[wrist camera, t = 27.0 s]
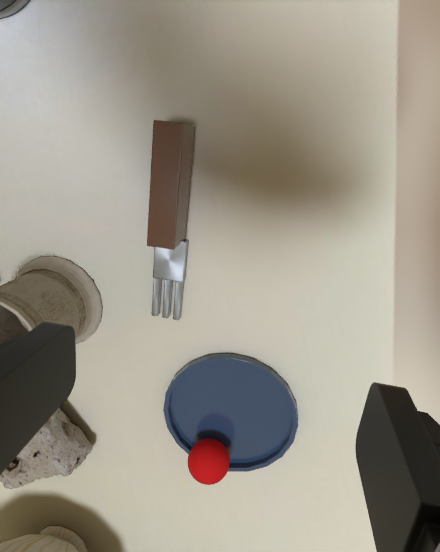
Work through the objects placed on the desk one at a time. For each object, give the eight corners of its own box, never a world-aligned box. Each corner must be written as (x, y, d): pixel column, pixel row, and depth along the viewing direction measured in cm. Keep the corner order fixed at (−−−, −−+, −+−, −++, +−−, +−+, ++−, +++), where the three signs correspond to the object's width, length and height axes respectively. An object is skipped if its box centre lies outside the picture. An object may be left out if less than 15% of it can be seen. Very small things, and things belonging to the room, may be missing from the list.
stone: (-3, 494, 47) (-49, 432, 44) (31, 455, 52) (-8, 396, 49) (80, 501, 42) (35, 431, 38) (109, 456, 47) (71, 390, 43)
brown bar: (164, 122, 34) (149, 119, 30) (198, 126, 34) (187, 123, 30) (153, 312, 40) (138, 329, 36) (181, 317, 39) (170, 335, 36)
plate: (147, 425, 44) (144, 431, 43) (201, 329, 40) (199, 334, 39) (255, 484, 45) (255, 491, 44) (323, 396, 40) (324, 402, 39)
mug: (73, 242, 39) (-14, 282, 28) (118, 328, 41) (53, 398, 30) (-35, 288, 43) (-151, 340, 31) (11, 365, 45) (-81, 438, 34)
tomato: (196, 432, 40) (203, 429, 45) (176, 474, 39) (185, 467, 44) (234, 453, 39) (238, 448, 44) (215, 497, 38) (221, 487, 43)
